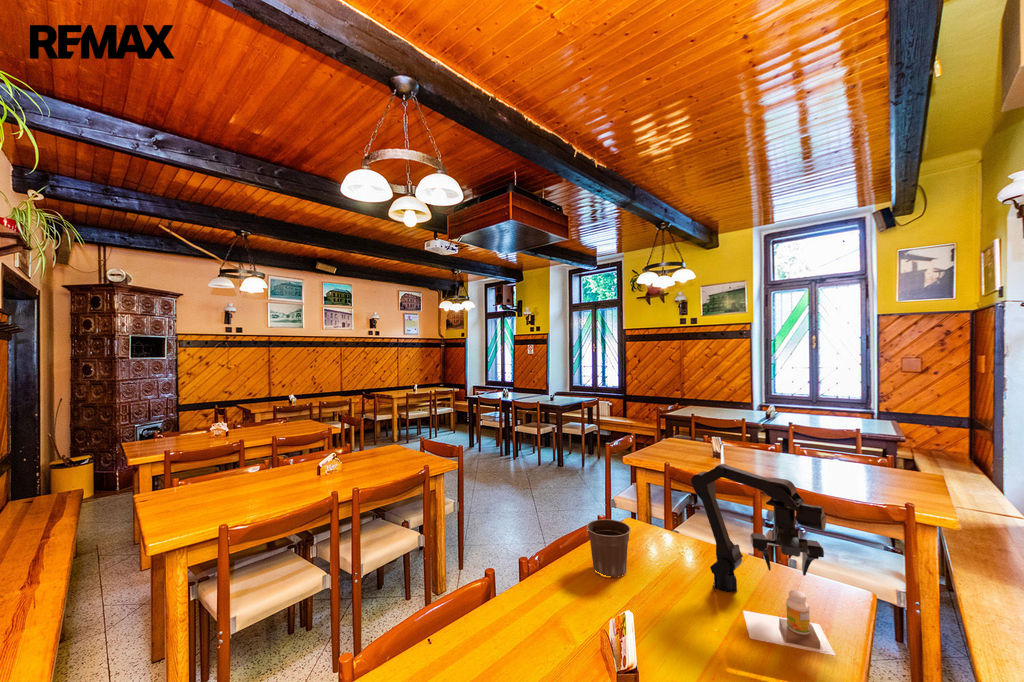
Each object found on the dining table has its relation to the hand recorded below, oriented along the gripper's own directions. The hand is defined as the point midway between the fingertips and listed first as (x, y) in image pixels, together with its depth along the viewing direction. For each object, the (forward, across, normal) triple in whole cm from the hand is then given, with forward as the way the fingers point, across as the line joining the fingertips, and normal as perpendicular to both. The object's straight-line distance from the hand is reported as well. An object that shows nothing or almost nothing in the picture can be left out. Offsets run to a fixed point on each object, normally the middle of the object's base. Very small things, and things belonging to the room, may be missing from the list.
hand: (786, 572), depth 132 cm
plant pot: (+13, -56, +8) cm, 58 cm away
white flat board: (+12, -3, -11) cm, 17 cm away
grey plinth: (+12, 0, -13) cm, 17 cm away
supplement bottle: (+10, 0, -13) cm, 16 cm away
